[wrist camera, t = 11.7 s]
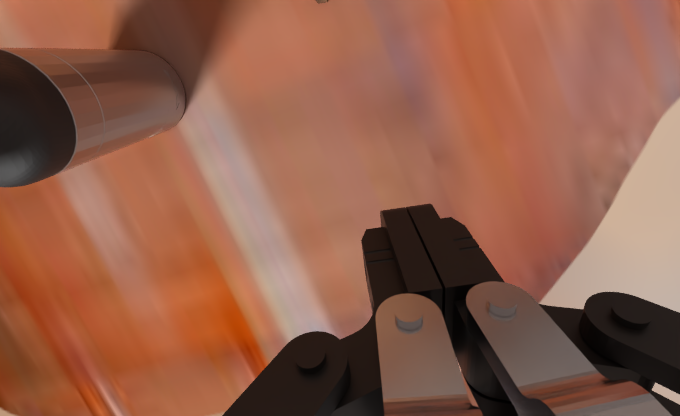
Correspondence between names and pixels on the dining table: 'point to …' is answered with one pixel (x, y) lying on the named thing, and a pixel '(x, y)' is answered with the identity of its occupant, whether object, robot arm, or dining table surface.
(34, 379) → the dining table surface
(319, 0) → the wooden corral
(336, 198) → the dining table surface
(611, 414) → the robot arm
